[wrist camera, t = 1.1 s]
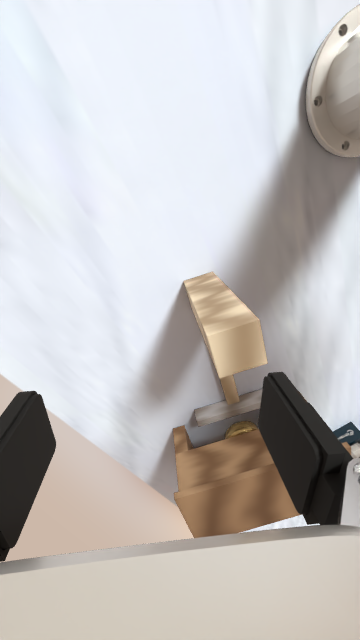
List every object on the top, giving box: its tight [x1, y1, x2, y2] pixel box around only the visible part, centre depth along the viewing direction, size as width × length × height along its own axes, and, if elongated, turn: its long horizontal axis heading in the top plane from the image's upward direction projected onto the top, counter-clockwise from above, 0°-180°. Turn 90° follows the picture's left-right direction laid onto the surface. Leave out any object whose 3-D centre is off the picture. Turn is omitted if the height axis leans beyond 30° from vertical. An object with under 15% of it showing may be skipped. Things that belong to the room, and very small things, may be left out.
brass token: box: [225, 421, 258, 439], centre depth 44 cm, size 6×6×2 cm
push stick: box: [184, 272, 268, 427], centre depth 31 cm, size 13×23×16 cm, turn 17°
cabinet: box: [173, 391, 351, 538], centre depth 40 cm, size 23×12×12 cm, turn 107°
